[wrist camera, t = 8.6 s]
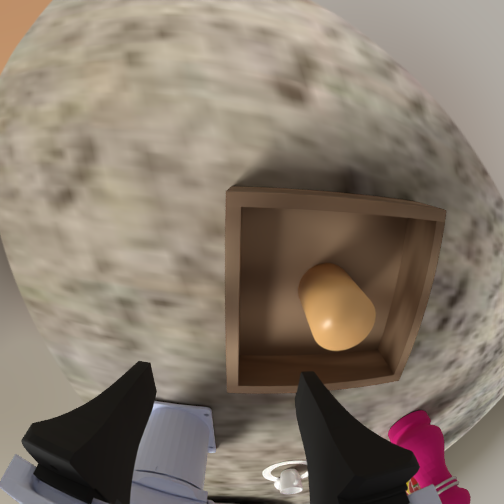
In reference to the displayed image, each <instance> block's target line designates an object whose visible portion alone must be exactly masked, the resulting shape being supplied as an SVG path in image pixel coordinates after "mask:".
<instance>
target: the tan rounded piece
mask: <svg viewBox="0 0 504 504" xmlns="http://www.w3.org/2000/svg"><path fill="white" fill-rule="evenodd" d="M298 296H299V299H300V302H301V304H302V307H303V310H304V313H305V315H306V318H307V321H308V323H309V326H310V329H311V332H312V334H313V337H314V339H315V341H316V342H317V343H318V344H319V345H320V346H321V347H323V348H325V349H328V350H332V351H340V350H346V349H349V348H351V347H354V346H355V345H357V344H359V343H360V342H361V341H363V340H364V339H365V338H366V337H367V336H368V334H369V333H370V331H371V330H372V328H373V326H374V323H375V318H376V312H375V307H374V305H373V303H372V302H371V300H370V299H369V298H368V297H367V296H366V295H365V293H364V292H363V291H362V290H361V289H360V288H359V286H358V285H357V284H356V283H355V282H354V281H353V280H352V278H351V277H350V276H349V275H348V274H347V273H346V272H345V271H344V269H343V268H341V267H340V266H338V265H336V264H332V263H322V264H318V265H316V266H314V267H312V268H310V269H309V270H308V271H307V272H306V273H305V274H304V275H303V277H302V278H301V280H300V282H299V286H298Z"/></svg>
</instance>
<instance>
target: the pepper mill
mask: <svg viewBox="0 0 504 504" xmlns="http://www.w3.org/2000/svg"><path fill="white" fill-rule="evenodd" d="M430 422H431V420H430V418H429V416H428V415H427V413H426V412H425V411H423V410H419V411H415V412H412V413H410V414H408V415H406V416H404V417H403V418H401V419H400V420H399V421H397V422H396V423H395V424H394V425H393V426H392V427H391V429H390V430H389V433H388V436H389V439H390V441H391V443H393V444H396V445H398V446H400V447H403V448H405V449H408V450H410V451H412V452H413V453H414V455H415V457H416V459H417V461H418V463H419V466H420V468H419V470H418V472H417V473H416V474H415V475H414V476H413V477H414V478H415V479H416V481H417V482H418V484H419V486H420V488H421V489H422V488H424V487H427V486H429V485H431V484H433V485H434V487H435V489H436V491H437V493H438V496H439V498H440V500H441V502H442V504H470V494H469V492H468V490H466V489H464V488H459V487H458V486H457V485H458V484H459V481H457V480H456V479H457V477H456V476H454V477H452V475H451V474H450V473H449V471H448V469H447V467H446V465H445V459H444V437H443V434H442V431H441V429H440V428H439V427H438V426H435V425H430Z"/></svg>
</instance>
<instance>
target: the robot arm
mask: <svg viewBox="0 0 504 504" xmlns="http://www.w3.org/2000/svg"><path fill="white" fill-rule="evenodd" d="M156 392H157V391H156V387H155V382H154V378H153V373H152V368H151V364H150V363H148V362H142V361H138V362H137V363H136V364H135V365H134V366H133V367H132V368H131V369H129V370H128V371H127V372H126V373H125V374H124V375H123V376H122V377H121V378H119V379H118V380H117V381H116V382H115V383H114V384H112V385H111V386H110V387H109V388H108V389H106V390H105V391H104V392H102V393H101V394H100V395H98V396H97V397H95V398H94V399H92V400H91V401H89V402H88V403H86V404H84V405H82V406H80V407H78V408H76V409H74V410H72V411H70V412H68V413H66V414H63V415H61V416H58V417H55V418H52V419H49V420H45V421H41V422H36V423H32V425H31V426H30V428H29V429H28V431H27V432H26V434H25V435H24V437H23V439H22V444H23V446H24V448H25V449H26V450H27V451H28V452H29V454H30V455H31V456H32V457H33V458H34V459H35V460H36V461H37V462H38V463H39V464H38V466H37V467H35V466H34V465H33V464H31V463H30V462H28V461H26V460H25V459H23V458H22V457H20V456H19V455H17V454H15V456H14V457H13V459H12V461H11V463H10V464H9V466H8V468H7V470H6V471H5V473H4V475H3V477H2V479H1V481H0V488H1V489H2V490H3V491H4V492H6V493H7V494H8V495H9V496H11V497H12V498H13V499H15V500H16V501H17V502H19V503H20V504H215V503H214V502H213V501H212V500H207V496H208V492H207V491H204V490H203V487H204V480H205V471H206V462H207V454H208V453H215V452H216V445H215V436H214V428H213V419H212V410H211V409H210V408H209V407H201V406H190V405H181V404H173V403H166V402H159V401H155V397H156ZM295 406H296V415H297V421H298V425H299V429H300V433H301V437H302V441H303V445H304V449H305V454H306V459H307V468H308V478H309V491H310V504H442V502H441V500H440V498H439V496H438V493H437V491H436V489H435V487H434V485H433V484H431V485H429V486H427V487H424V488H422V489H420V490H417V491H415V492H413V493H411V494H409V495H408V496H407V493H406V491H407V490H408V486H407V484H406V483H407V482H408V481H409V480H410V479H411V478H412V477H413V476H414V475H415V474H416V473H417V472H418V470H419V468H420V466H419V463H418V461H417V459H416V457H415V455H414V453H413V452H412V451H410V450H408V449H405V448H403V447H400V446H398V445H396V444H393V443H391V442H390V441H388V440H386V439H384V438H382V437H380V436H379V435H377V434H376V433H374V432H372V431H371V430H369V429H368V428H367V427H365V426H364V425H362V424H361V423H360V422H359V421H358V420H356V419H355V418H354V417H353V416H352V415H351V414H350V413H349V412H348V411H347V410H346V409H345V408H344V407H343V406H342V405H341V404H340V403H339V402H338V401H337V400H336V399H335V397H334V396H333V395H332V394H331V393H330V392H329V390H328V389H327V388H326V387H325V385H324V384H323V383H322V381H321V380H320V379H319V377H318V376H317V375H316V373H315V372H314V371H303V372H301V375H300V379H299V384H298V388H297V393H296V397H295Z"/></svg>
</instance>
